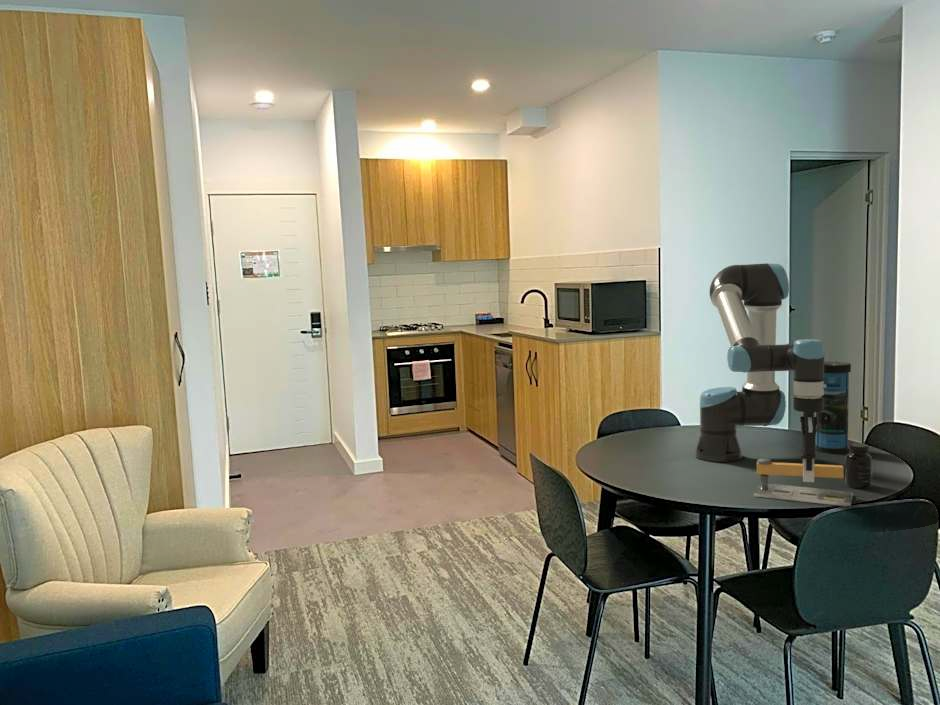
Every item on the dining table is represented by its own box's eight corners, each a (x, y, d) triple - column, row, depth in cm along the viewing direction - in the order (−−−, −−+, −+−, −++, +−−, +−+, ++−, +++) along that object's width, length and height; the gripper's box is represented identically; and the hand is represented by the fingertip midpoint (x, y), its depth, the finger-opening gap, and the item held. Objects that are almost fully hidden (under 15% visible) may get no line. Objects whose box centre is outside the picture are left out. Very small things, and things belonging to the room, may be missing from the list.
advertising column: (839, 445, 259) (839, 360, 256) (856, 453, 248) (857, 364, 245) (807, 446, 259) (808, 362, 256) (823, 454, 247) (824, 366, 244)
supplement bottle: (840, 483, 214) (840, 442, 213) (862, 481, 215) (863, 441, 214) (854, 490, 207) (854, 448, 206) (877, 488, 208) (878, 446, 207)
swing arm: (757, 474, 207) (757, 461, 207) (756, 471, 211) (756, 458, 210) (843, 478, 200) (843, 465, 200) (842, 475, 203) (842, 461, 203)
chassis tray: (753, 496, 205) (753, 478, 205) (760, 486, 215) (760, 469, 214) (850, 506, 193) (850, 488, 193) (852, 495, 203) (852, 477, 202)
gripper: (826, 400, 193) (826, 488, 195) (821, 393, 205) (821, 476, 207) (795, 399, 195) (795, 486, 197) (792, 392, 207) (792, 474, 209)
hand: (808, 481), depth 202 cm, fingers closed
